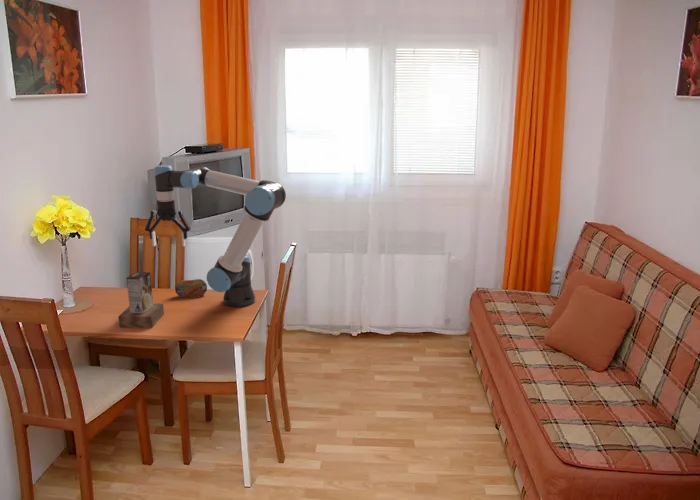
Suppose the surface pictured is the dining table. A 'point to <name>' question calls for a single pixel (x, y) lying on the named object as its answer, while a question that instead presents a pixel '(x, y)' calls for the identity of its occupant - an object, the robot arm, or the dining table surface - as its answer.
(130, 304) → the coffee box
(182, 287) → the tin
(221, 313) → the dining table surface
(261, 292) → the dining table surface
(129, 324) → the walnut plinth
